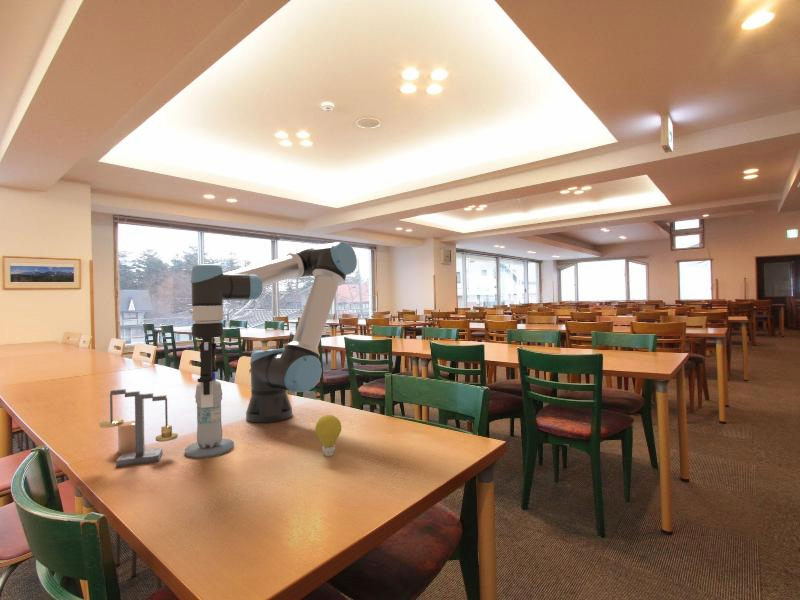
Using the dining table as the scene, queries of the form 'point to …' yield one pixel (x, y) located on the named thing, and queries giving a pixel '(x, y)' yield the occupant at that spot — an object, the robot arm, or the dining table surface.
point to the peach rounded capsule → (126, 437)
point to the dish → (209, 449)
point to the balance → (140, 430)
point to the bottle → (209, 417)
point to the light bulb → (328, 432)
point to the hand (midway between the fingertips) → (209, 401)
